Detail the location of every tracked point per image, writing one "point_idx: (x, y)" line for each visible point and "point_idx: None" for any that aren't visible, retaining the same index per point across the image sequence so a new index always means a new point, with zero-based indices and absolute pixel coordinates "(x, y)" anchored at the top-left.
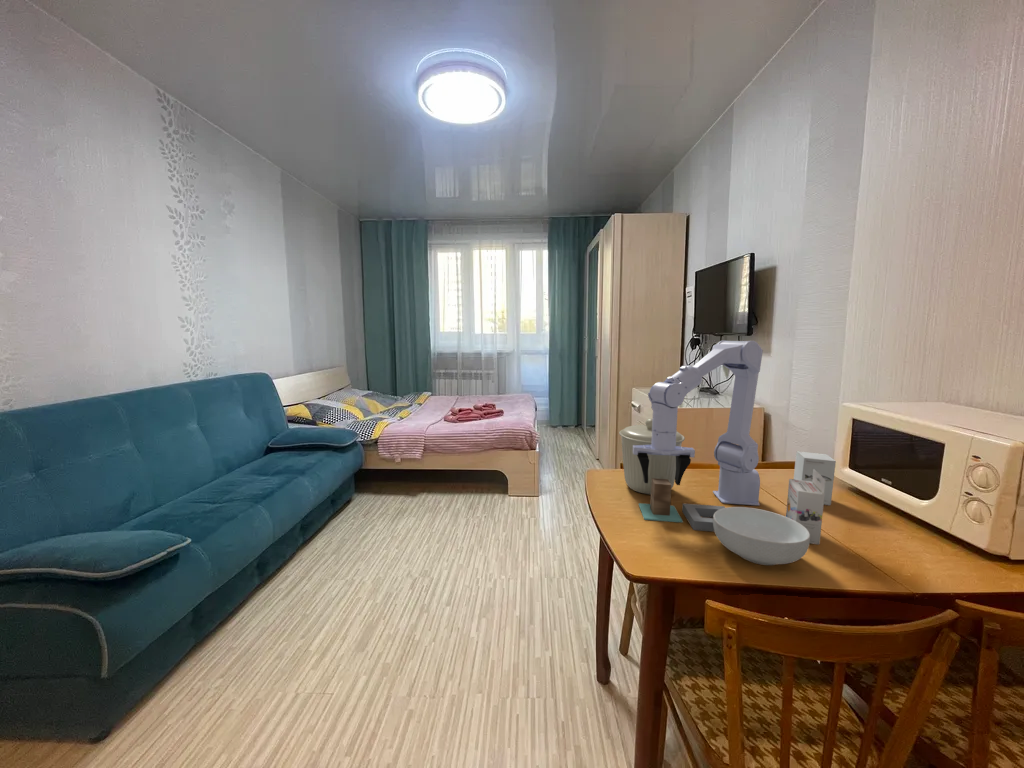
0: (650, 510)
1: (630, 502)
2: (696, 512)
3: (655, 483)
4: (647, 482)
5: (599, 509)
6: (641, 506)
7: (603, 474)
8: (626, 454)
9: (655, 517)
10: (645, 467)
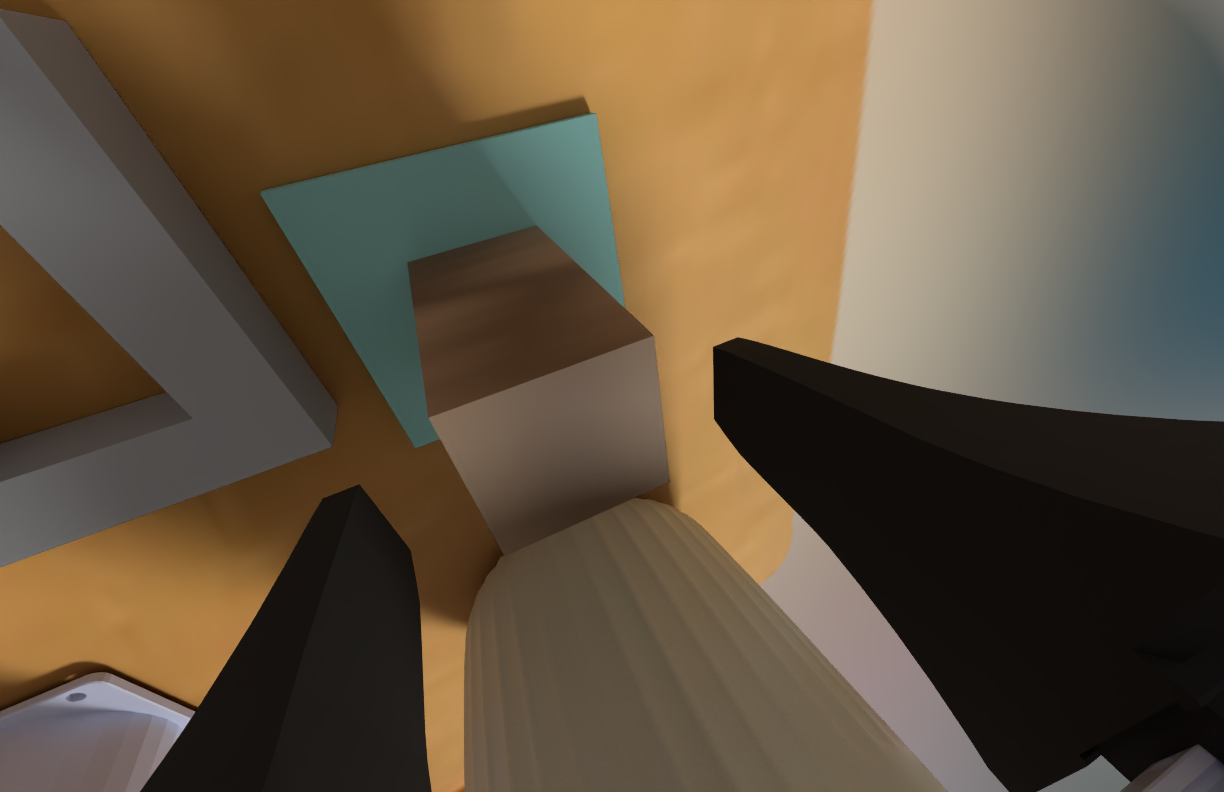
0: None
1: (672, 367)
2: (115, 319)
3: (643, 350)
4: (724, 348)
5: (848, 174)
6: None
7: (756, 565)
8: (840, 677)
9: (511, 169)
10: (978, 421)
